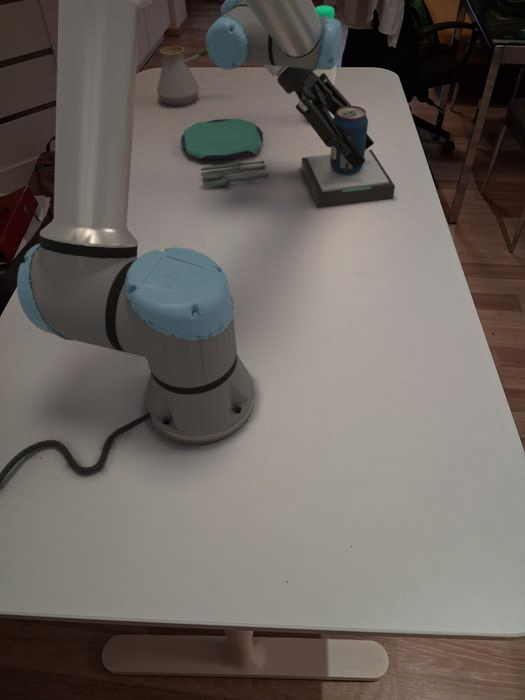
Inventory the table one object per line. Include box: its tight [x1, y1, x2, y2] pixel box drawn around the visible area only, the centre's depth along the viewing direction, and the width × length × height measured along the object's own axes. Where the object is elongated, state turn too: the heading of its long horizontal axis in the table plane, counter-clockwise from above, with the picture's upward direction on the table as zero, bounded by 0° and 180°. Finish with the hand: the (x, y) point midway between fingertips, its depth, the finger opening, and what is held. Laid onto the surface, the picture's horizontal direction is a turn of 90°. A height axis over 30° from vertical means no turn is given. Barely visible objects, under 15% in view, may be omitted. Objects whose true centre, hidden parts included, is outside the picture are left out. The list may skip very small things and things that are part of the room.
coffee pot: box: [156, 45, 209, 107], centre depth 144 cm, size 21×12×15 cm, turn 86°
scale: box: [300, 149, 396, 209], centre depth 115 cm, size 16×16×3 cm
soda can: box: [330, 105, 369, 175], centre depth 109 cm, size 7×7×12 cm
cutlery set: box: [180, 118, 270, 188], centre depth 126 cm, size 20×30×2 cm, turn 9°
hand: (364, 155), depth 110 cm, fingers closed on soda can, 7 cm apart
